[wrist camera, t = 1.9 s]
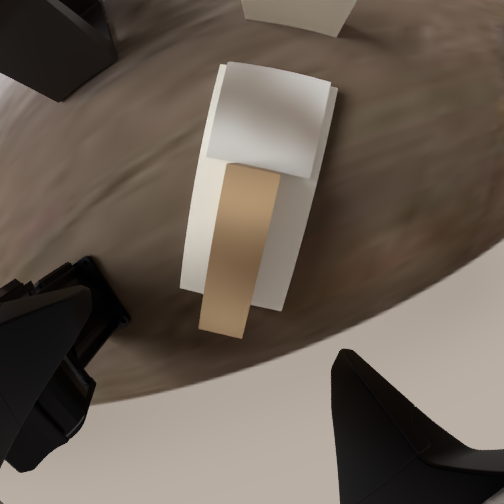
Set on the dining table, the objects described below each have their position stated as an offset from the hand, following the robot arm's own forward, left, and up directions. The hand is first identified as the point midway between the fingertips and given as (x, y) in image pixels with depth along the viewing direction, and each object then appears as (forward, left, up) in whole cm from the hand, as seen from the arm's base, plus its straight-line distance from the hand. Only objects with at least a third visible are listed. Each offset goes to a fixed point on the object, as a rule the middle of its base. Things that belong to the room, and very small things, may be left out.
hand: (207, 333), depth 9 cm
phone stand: (+21, +4, -10) cm, 24 cm away
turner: (+3, -2, -9) cm, 10 cm away
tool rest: (+3, -2, -10) cm, 11 cm away
